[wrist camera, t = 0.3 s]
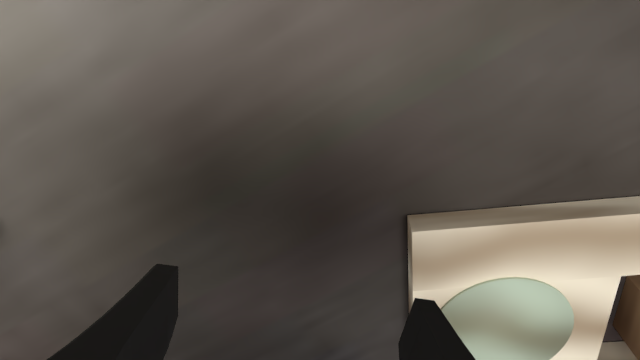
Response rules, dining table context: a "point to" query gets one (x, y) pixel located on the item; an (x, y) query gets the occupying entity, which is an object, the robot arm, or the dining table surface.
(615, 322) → the block
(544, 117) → the dining table surface
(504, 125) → the dining table surface
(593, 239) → the board
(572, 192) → the dining table surface
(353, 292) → the dining table surface
